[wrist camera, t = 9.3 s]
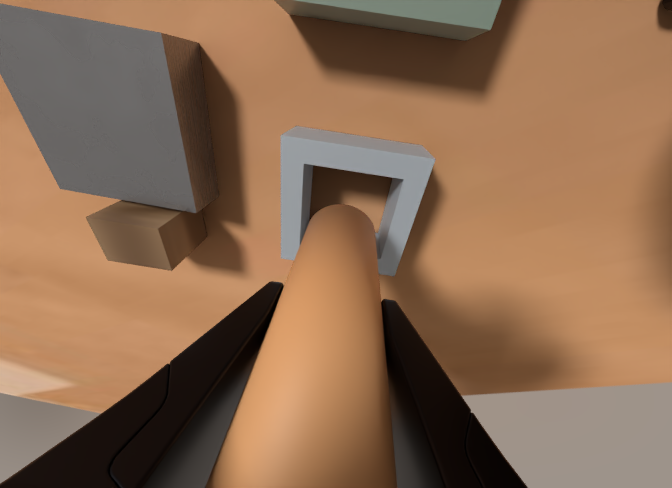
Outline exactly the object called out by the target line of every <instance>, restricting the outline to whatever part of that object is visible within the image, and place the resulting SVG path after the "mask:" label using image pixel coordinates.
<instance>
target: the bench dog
mask: <svg viewBox="0 0 672 488" xmlns="http://www.w3.org/2000/svg"><path fill="white" fill-rule="evenodd" d="M86 219H87V221H88V223H89V225H90V227H91V229H92V231H93V233H94V235H95V236H96V238H97V240H98V242H99V244H100V246H101V248H102V250H103V252H104V254H105V256H106V258H107V260H108V261H115V262H121V263H127V264H133V265H139V266H146V267H152V268H158V269H164V270H171V271H172V270H173V269H174V268H175V267H176V266H177V265H178V264H179V263H180V262H181V261H182V260H183V259H184V258H185V257H187V256H188V255H189V254H190V253H191V252H192V251H193V250H194V249H195V248H196V247H197V246H198V245H199V244H200V243H201V242H202V241H203V240H204V239H205V238H206V237H207V234H206V229H205V224H204V219H203V214H202V209H201V210H200V211H199V212H197V213H193V212H187V211H181V210H176V209H170V208H165V207H159V206H154V205H148V204H142V203H137V202H131V201H126V200H121V201H119V202H117V203H115V204H113V205H110V206H108V207H106V208H104V209H102V210H100V211H98V212H96V213H94V214H91V215H89V216H87V217H86Z"/></svg>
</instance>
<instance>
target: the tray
mask: <svg viewBox="0 0 672 488" xmlns="http://www.w3.org/2000/svg"><path fill="white" fill-rule="evenodd" d="M275 1H276V2H277V3H278V4H279V5H280V6H281V7H282V8H283V9H284V10H285V11H286V12H287V13H288V14H291V15H298V16H305V17H311V18H318V19H324V20H331V21H338V22H344V23H351V24H358V25H364V26H371V27H377V28H384V29H391V30H397V31H404V32H410V33H417V34H424V35H430V36H437V37H443V38H450V39H457V40H463V41H467V40H469V39H471V38H474V37H476V36H478V35H480V34H483V33H485V32H487V31H490V30H491V28H492V25H493V22H494V20H495V17H496V14H497V11H498V9H499V6H500V3H501V1H502V0H275Z"/></svg>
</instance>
